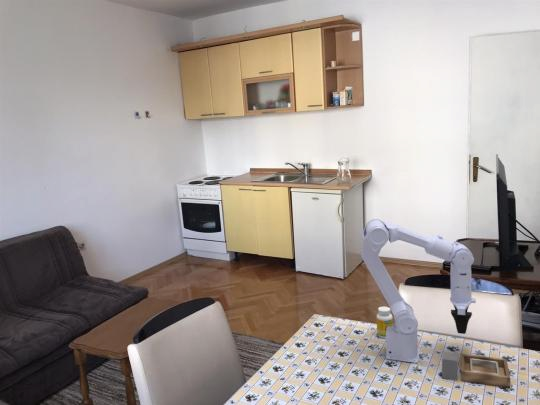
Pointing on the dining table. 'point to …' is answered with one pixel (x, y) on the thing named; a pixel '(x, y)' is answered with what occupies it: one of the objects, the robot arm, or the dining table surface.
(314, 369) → the dining table surface
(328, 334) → the dining table surface
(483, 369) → the box
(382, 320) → the supplement bottle
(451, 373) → the grey rectangular block
